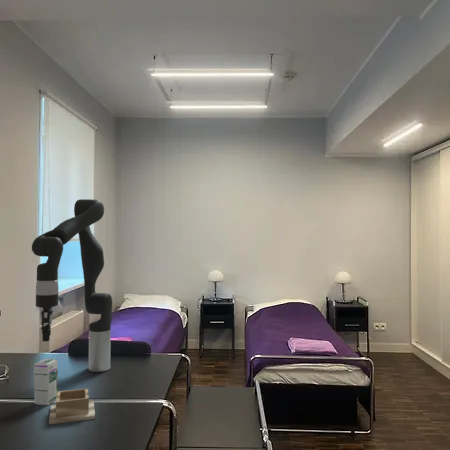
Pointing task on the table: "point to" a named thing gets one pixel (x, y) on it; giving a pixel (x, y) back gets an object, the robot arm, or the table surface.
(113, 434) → the table surface
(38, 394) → the syrup box
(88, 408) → the wooden square holder
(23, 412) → the table surface
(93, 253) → the robot arm
